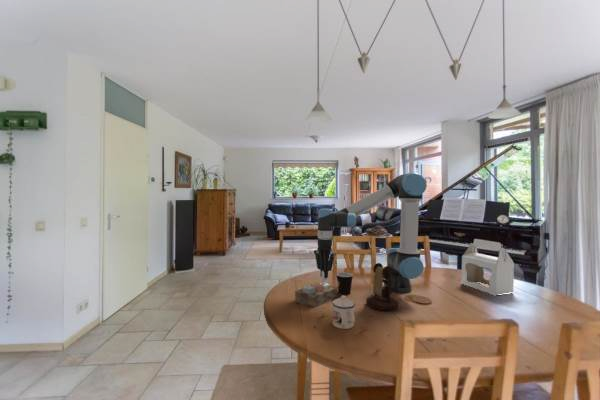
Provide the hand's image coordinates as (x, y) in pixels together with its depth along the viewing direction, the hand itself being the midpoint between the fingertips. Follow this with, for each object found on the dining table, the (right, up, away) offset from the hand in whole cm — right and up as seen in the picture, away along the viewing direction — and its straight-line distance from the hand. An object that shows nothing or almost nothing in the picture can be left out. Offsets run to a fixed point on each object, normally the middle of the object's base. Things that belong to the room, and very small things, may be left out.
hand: (324, 283), depth 150 cm
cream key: (0, -5, 0) cm, 5 cm away
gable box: (+95, -8, +16) cm, 96 cm away
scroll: (+27, -8, -12) cm, 30 cm away
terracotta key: (-4, -4, -4) cm, 7 cm away
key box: (-4, -7, -4) cm, 9 cm away
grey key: (-8, -4, -9) cm, 13 cm away
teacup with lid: (+6, -8, -34) cm, 35 cm away
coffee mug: (+12, -7, +7) cm, 15 cm away
